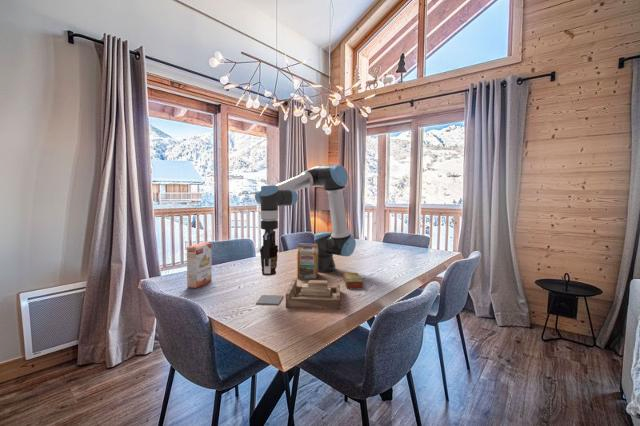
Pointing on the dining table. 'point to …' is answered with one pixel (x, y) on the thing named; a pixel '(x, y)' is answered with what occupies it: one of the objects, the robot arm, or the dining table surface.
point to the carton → (352, 280)
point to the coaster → (270, 299)
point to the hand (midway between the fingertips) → (269, 270)
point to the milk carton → (307, 261)
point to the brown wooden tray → (311, 302)
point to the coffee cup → (273, 260)
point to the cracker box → (199, 265)
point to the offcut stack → (316, 288)
